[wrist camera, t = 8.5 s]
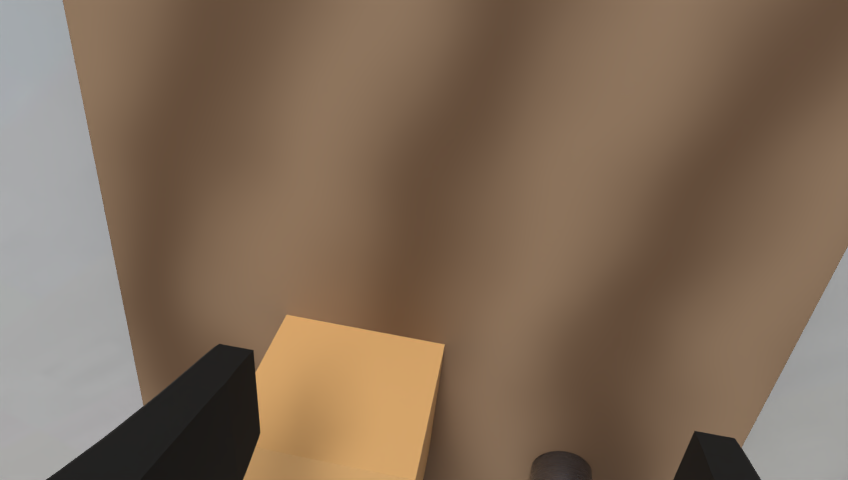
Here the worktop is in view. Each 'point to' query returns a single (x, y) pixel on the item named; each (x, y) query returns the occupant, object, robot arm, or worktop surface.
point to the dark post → (560, 467)
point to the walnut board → (483, 200)
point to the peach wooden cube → (344, 404)
